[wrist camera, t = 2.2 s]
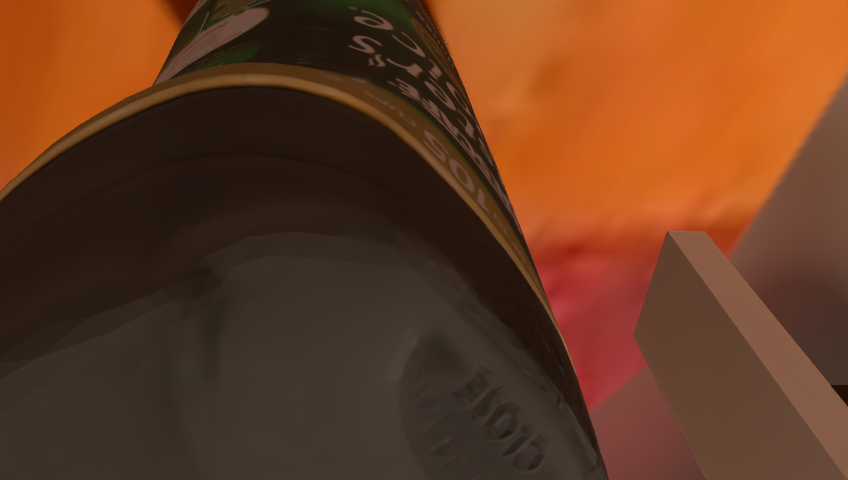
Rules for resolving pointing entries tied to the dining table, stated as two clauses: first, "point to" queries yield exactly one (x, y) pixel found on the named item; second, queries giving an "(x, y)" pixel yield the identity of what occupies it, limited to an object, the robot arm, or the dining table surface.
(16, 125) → the dining table surface
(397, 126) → the coffee jar
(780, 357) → the robot arm
